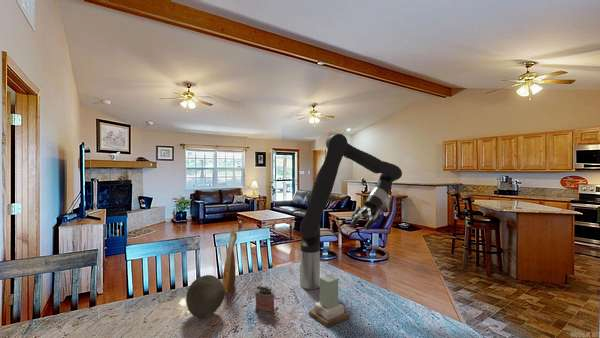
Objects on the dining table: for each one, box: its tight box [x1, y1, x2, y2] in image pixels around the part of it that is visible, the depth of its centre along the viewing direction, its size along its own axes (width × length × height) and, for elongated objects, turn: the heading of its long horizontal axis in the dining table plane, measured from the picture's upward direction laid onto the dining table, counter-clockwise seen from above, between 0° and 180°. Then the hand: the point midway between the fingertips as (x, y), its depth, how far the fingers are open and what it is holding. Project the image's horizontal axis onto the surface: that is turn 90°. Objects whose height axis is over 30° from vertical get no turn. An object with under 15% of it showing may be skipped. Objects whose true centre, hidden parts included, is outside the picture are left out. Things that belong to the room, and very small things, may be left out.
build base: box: [308, 301, 350, 328], centre depth 110 cm, size 11×11×4 cm
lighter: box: [254, 285, 275, 315], centre depth 114 cm, size 8×3×10 cm, turn 71°
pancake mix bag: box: [222, 225, 238, 295], centre depth 138 cm, size 7×19×28 cm, turn 12°
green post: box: [319, 274, 339, 309], centre depth 110 cm, size 5×5×10 cm
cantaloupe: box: [185, 274, 226, 319], centre depth 111 cm, size 14×14×15 cm
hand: (359, 227), depth 127 cm, fingers open, 8 cm apart
